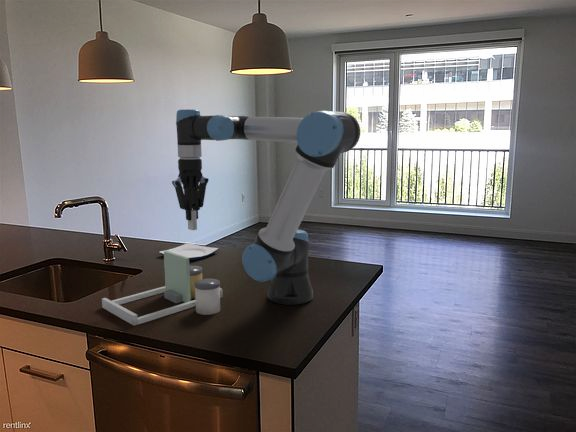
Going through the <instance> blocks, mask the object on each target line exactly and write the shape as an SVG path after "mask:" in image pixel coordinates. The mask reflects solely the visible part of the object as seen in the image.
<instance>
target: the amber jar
mask: <svg viewBox="0 0 576 432" xmlns="http://www.w3.org/2000/svg"><path fill="white" fill-rule="evenodd" d="M189 268H190V292H191V300H192V299H195V282H196V281H198V280H201V279H203V267H202V266H199V265H189Z"/></svg>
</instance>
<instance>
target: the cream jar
mask: <svg viewBox="0 0 576 432" xmlns="http://www.w3.org/2000/svg"><path fill="white" fill-rule="evenodd" d="M220 285H221V282H220V280H219V279H216V278H202V279H201V280H198V281H196V282H195V298H194V300H196V306H195V312H196V313H197V314H199V315H204V316H206V315H207V316H209V315H215V314H217V313H220V311H221V298H220V288H221V286H220Z"/></svg>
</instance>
